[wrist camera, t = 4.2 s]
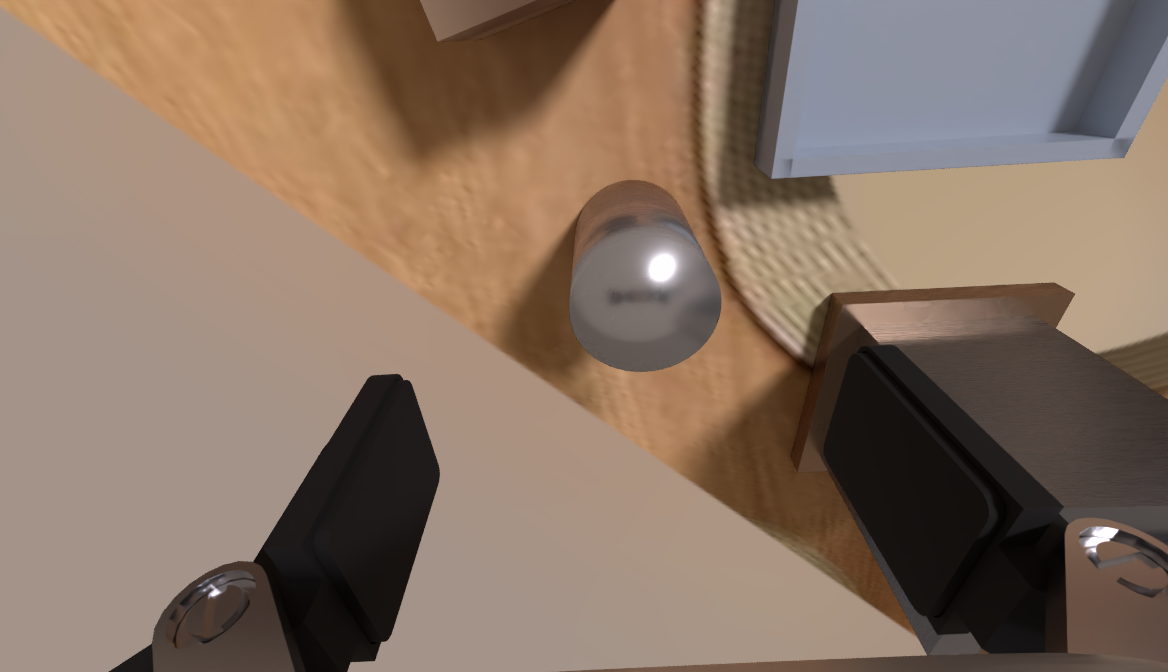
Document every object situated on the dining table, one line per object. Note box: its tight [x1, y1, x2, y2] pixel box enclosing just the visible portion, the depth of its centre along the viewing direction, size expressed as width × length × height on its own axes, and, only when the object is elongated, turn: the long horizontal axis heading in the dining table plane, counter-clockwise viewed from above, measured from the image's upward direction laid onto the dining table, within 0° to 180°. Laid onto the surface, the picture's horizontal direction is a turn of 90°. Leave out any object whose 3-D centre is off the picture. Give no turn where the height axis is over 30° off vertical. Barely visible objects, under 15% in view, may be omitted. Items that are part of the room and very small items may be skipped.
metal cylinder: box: [569, 180, 721, 372], centre depth 16 cm, size 4×4×6 cm
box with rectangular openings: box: [791, 283, 1168, 655], centre depth 18 cm, size 9×10×10 cm
